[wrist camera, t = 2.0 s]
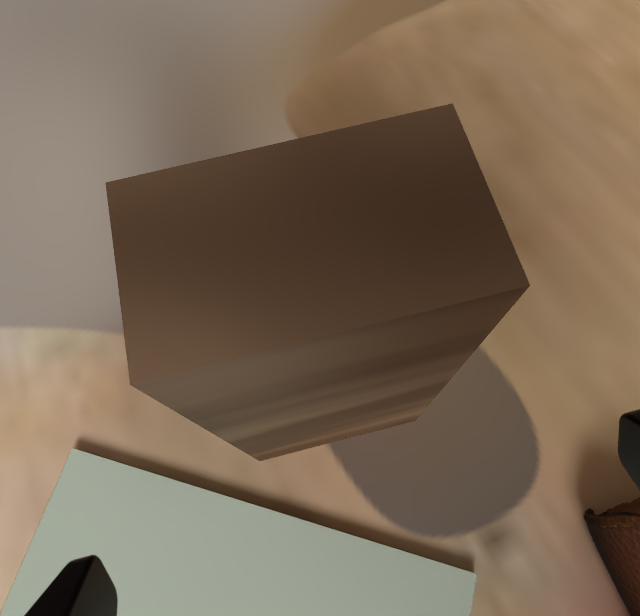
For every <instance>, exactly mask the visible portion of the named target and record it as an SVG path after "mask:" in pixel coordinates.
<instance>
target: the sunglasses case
mask: <svg viewBox="0 0 640 616" xmlns="http://www.w3.org/2000/svg"><path fill="white" fill-rule="evenodd" d="M584 519H585V521H586V523H587V526H588V529H589V532H590V534H591V536H592V538H593V541H594V543H595V545H596V547H597V550H598V552H599V554H600V556H601V558H602V560H603V562H604V564H605V566H606V568H607V570H608V572H609V574H610V576H611V578H612V580H613V582H614V584H615V586H616V588H617V590H618V592H619V594H620V596H621V598H622V600H623V602H624V604H625V606H626V608H627V610H628V611H629V613H630V615H631V616H640V498H638V499H636V500H634V501H632V502H630V503H629V502H627V503H623V504H620V505H618V506H615V507H614V508H610V509H608V510H607V511H606V512H603V513H602V514H600V515H595V514H594V511H593V510H592V509H588V510H586V511H585V514H584Z"/></svg>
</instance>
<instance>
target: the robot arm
mask: <svg viewBox="0 0 640 616" xmlns="http://www.w3.org/2000/svg"><path fill="white" fill-rule="evenodd" d="M618 455H619V458H620V461H621V463H622V465H623V466H624V468H625V469H626V471H627V472H628V474H629V475H630V477H631V478H632V480H633V481H634V482H635V484H636V485H637V487H638V488H639V490H640V409H639V410H635V411H631V412H627V413H624V414H623V415H622V416H621V417H620V420H619V436H618ZM117 606H118V598H117V591H116V588H115V585H114V583H113V582H112V580H111V578H110V576H109V574H108V572H107V570H106V569H105V567H104V565H103V563H102V561H101V560H100V558H99V557H98V556H96V555H89V556H85V557H82V558H78V559H74V560H72V561H70V562H69V563H68V564H67V565H66V566H65V567H64V568H63V569H62V570H61V572H60V573H59V574H58V575H57V576H56V578H55V579H54V580H53V581H52V583H51V584H50V585H49V586H48V587H47V589H46V590H45V591H44V592H43V593H42V595H41V596H40V597H39V598H38V599H37V601H36V602H35V603H34V604H33V605H32V607H31V608H30V609H29V610H28V611H27V613H26V614H25V615H24V616H117Z"/></svg>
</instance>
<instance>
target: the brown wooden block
mask: <svg viewBox="0 0 640 616" xmlns="http://www.w3.org/2000/svg"><path fill="white" fill-rule="evenodd" d="M106 190H107V197H108V206H109V214H110V221H111V230H112V239H113V247H114V255H115V263H116V271H117V279H118V288H119V296H120V304H121V312H122V320H123V327H124V337H125V345H126V353H127V361H128V369H129V377H130V385H131V386H133V387H135V388H137V389H138V390H140V391H142V392H143V393H145V394H147V395H148V396H150V397H152V398H154V399H155V400H157V401H159V402H160V403H162V404H164V405H165V406H167V407H169V408H171V409H172V410H174V411H176V412H177V413H179V414H181V415H182V416H184V417H186V418H188V419H189V420H191V421H193V422H194V423H196V424H198V425H199V426H201V427H203V428H204V429H206V430H208V431H210V432H211V433H213V434H215V435H216V436H218V437H220V438H221V439H223V440H225V441H227V442H228V443H230V444H232V445H233V446H235V447H237V448H238V449H240V450H242V451H244V452H245V453H247V454H249V455H250V456H252V457H254V458H255V459H257V460H259V461H262V460H266V459H270V458H273V457H277V456H281V455H285V454H289V453H293V452H297V451H300V450H304V449H308V448H312V447H316V446H320V445H323V444H327V443H331V442H335V441H338V440H343V439H347V438H350V437H354V436H358V435H362V434H366V433H370V432H373V431H377V430H381V429H385V428H389V427H393V426H396V425H400V424H404V423H408V422H412V421H415V420H416V419H417V418H418V417H419V416H420V414H421V413H422V412H423V411H424V410H425V409H426V407H427V406H428V405H429V404H430V403H431V401H432V400H433V399H434V398H435V397H436V396H437V394H438V393H439V392H440V391H441V390H442V389H443V387H444V386H445V385H446V384H447V383H448V382H449V380H450V379H451V378H452V377H453V376H454V374H455V373H456V372H457V371H458V370H459V368H460V367H461V366H462V365H463V364H464V363H465V361H466V360H467V359H468V358H469V357H470V356H471V354H472V353H473V352H474V351H475V350H476V349H477V347H478V346H479V345H480V344H481V343H482V341H483V340H484V339H485V338H486V337H487V336H488V334H489V333H490V332H491V331H492V330H493V328H494V327H495V326H496V325H497V324H498V323H499V321H500V320H501V319H502V318H503V317H504V316H505V314H506V313H507V312H508V311H509V310H510V308H511V307H512V306H513V305H514V304H515V303H516V301H517V300H518V299H519V298H520V297H521V295H522V294H523V293H524V292H525V291H526V290H527V288H528V287H529V286H530V284H529V282H528V280H527V277H526V275H525V273H524V270H523V268H522V266H521V263H520V261H519V258H518V256H517V254H516V251H515V249H514V247H513V244H512V242H511V240H510V237H509V235H508V233H507V230H506V228H505V226H504V223H503V221H502V219H501V216H500V214H499V211H498V209H497V207H496V204H495V202H494V200H493V197H492V195H491V193H490V190H489V188H488V186H487V183H486V181H485V179H484V176H483V174H482V172H481V169H480V167H479V164H478V162H477V160H476V157H475V155H474V153H473V150H472V148H471V146H470V143H469V141H468V139H467V136H466V134H465V132H464V129H463V127H462V125H461V122H460V120H459V117H458V115H457V113H456V110H455V108H454V106H453V104H448V105H444V106H440V107H435V108H431V109H427V110H422V111H418V112H413V113H409V114H405V115H400V116H396V117H391V118H387V119H383V120H378V121H374V122H370V123H365V124H361V125H356V126H352V127H348V128H343V129H339V130H335V131H330V132H326V133H321V134H317V135H313V136H308V137H304V138H299V139H295V140H291V141H286V142H282V143H278V144H273V145H269V146H265V147H260V148H256V149H252V150H247V151H243V152H238V153H234V154H229V155H225V156H221V157H216V158H212V159H207V160H203V161H199V162H195V163H190V164H186V165H181V166H177V167H172V168H168V169H164V170H160V171H155V172H151V173H146V174H142V175H138V176H133V177H129V178H124V179H120V180H116V181H111V182H107V183H106Z"/></svg>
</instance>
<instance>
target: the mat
mask: <svg viewBox="0 0 640 616" xmlns="http://www.w3.org/2000/svg"><path fill="white" fill-rule="evenodd" d="M89 555H96V556H98V557H99V558H100V560H101V561H102V563H103V565H104V567H105V569H106V570H107V572H108V574H109V576H110V578H111V580H112V582H113V583H114V585H115V588H116V591H117V598H118V606H117V616H470V613H471V607H472V601H473V595H474V590H475V584H476V578H477V574H476V573H473V572H470V571H467V570H464V569H460V568H457V567H454V566H451V565H448V564H444V563H441V562H438V561H435V560H431V559H428V558H425V557H422V556H419V555H415V554H412V553H409V552H406V551H403V550H399V549H396V548H393V547H390V546H386V545H383V544H380V543H377V542H374V541H370V540H367V539H364V538H361V537H358V536H354V535H351V534H348V533H345V532H341V531H338V530H335V529H332V528H329V527H325V526H322V525H319V524H316V523H313V522H309V521H306V520H303V519H300V518H296V517H293V516H290V515H287V514H284V513H280V512H277V511H274V510H271V509H268V508H264V507H261V506H258V505H255V504H251V503H248V502H245V501H242V500H239V499H235V498H232V497H229V496H226V495H223V494H219V493H216V492H213V491H210V490H206V489H203V488H200V487H197V486H194V485H190V484H187V483H184V482H181V481H178V480H174V479H171V478H168V477H165V476H161V475H158V474H155V473H152V472H149V471H145V470H142V469H139V468H136V467H133V466H129V465H126V464H123V463H120V462H116V461H113V460H110V459H107V458H104V457H100V456H97V455H94V454H91V453H88V452H84V451H81V450H78V449H74V448H72V450H71V452H70V455H69V457H68V459H67V462H66V464H65V466H64V469H63V471H62V473H61V475H60V478H59V480H58V482H57V485H56V487H55V489H54V492H53V494H52V496H51V499H50V501H49V503H48V505H47V508H46V510H45V512H44V515H43V517H42V519H41V522H40V524H39V526H38V529H37V531H36V533H35V535H34V538H33V540H32V542H31V545H30V547H29V549H28V552H27V554H26V556H25V559H24V561H23V563H22V565H21V568H20V570H19V572H18V575H17V577H16V579H15V582H14V584H13V586H12V589H11V591H10V593H9V595H8V598H7V600H6V602H5V605H4V607H3V609H2V612H1V614H0V616H24V615H25V614H26V613H27V611H28V610H29V609H30V608H31V607H32V605H33V604H34V603H35V602H36V601H37V599H38V598H39V597H40V596H41V595H42V593H43V592H44V591H45V590H46V589H47V587H48V586H49V585H50V584H51V583H52V581H53V580H54V579H55V578H56V576H57V575H58V574H59V573H60V572H61V570H62V569H63V568H64V567H65V566H66V565H67V564H68V563H69V562H70V561H72V560H74V559H78V558H82V557H85V556H89Z"/></svg>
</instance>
